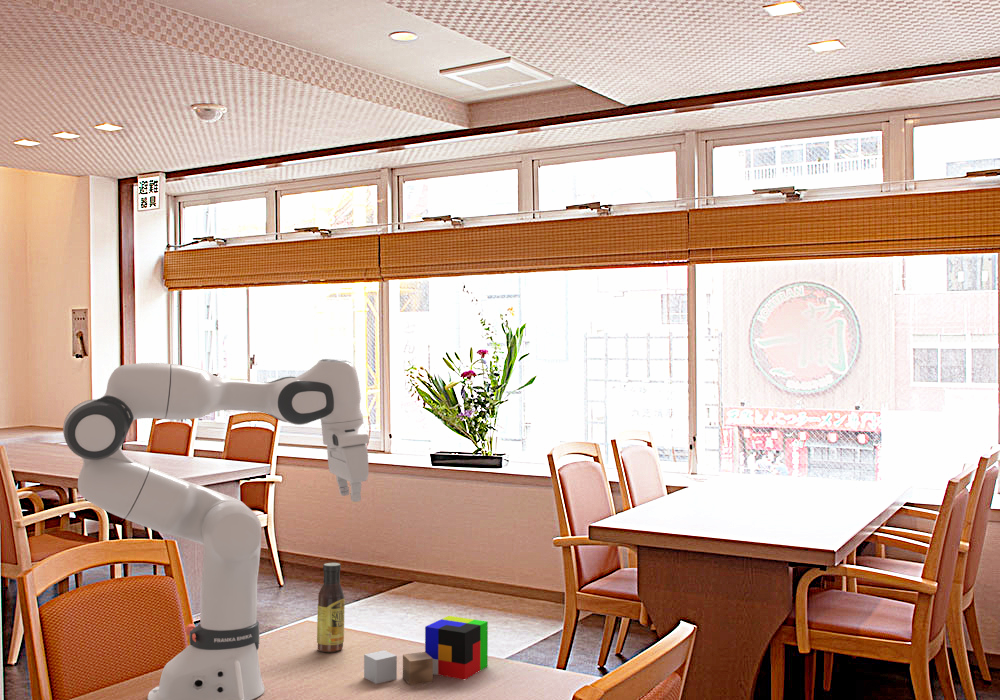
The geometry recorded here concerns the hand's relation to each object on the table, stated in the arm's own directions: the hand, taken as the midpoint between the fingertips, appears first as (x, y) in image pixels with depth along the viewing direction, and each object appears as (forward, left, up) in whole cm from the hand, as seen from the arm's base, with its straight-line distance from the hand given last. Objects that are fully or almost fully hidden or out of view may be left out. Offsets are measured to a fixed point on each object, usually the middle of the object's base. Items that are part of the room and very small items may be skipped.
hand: (350, 498), depth 202 cm
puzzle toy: (+23, -4, -39) cm, 45 cm away
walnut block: (+13, -7, -38) cm, 41 cm away
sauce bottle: (+1, +21, -38) cm, 44 cm away
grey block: (+6, -3, -38) cm, 39 cm away
